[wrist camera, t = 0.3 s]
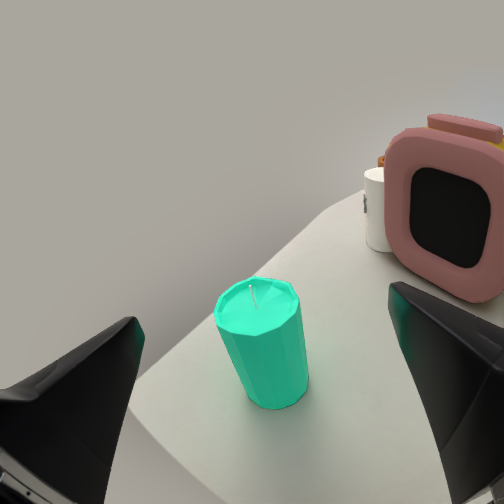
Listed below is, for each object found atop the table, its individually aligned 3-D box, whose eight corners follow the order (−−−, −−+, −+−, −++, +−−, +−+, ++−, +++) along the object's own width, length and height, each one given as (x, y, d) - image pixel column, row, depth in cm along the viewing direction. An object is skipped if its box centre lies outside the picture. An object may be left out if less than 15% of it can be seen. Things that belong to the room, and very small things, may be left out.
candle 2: (363, 230, 43) (357, 137, 36) (401, 229, 41) (401, 136, 33) (366, 253, 38) (362, 148, 31) (409, 251, 36) (413, 147, 28)
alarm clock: (377, 258, 37) (373, 113, 27) (418, 229, 40) (419, 107, 30) (490, 324, 22) (535, 148, 12) (515, 277, 26) (542, 135, 16)
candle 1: (292, 418, 21) (270, 330, 15) (233, 396, 24) (187, 306, 18) (318, 366, 25) (310, 265, 19) (263, 350, 28) (235, 254, 22)
